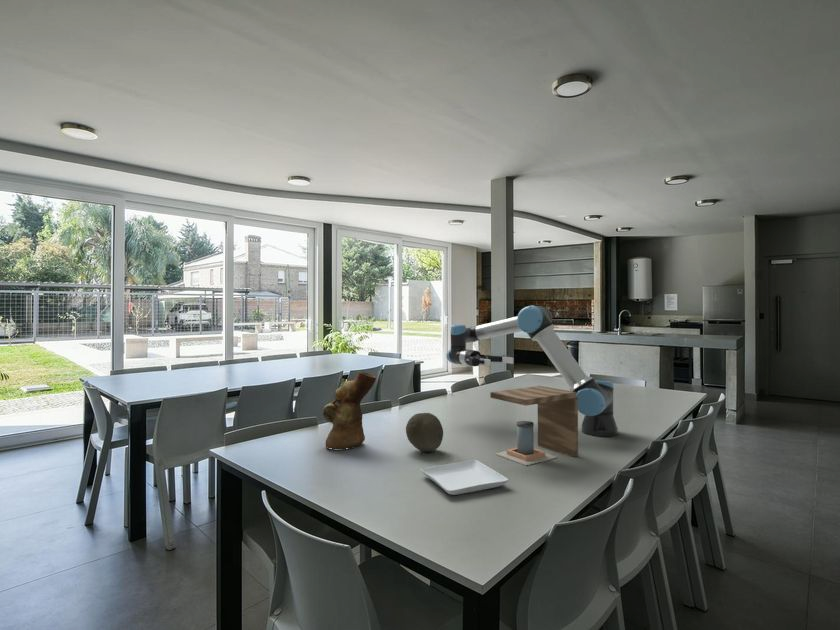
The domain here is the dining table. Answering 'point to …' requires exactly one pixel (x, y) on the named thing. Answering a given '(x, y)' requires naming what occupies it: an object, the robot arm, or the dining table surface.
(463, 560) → the dining table surface
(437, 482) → the salad plate
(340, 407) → the ceramic vessel
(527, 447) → the canister
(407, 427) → the cantaloupe
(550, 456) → the seat collar
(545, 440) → the shelf
